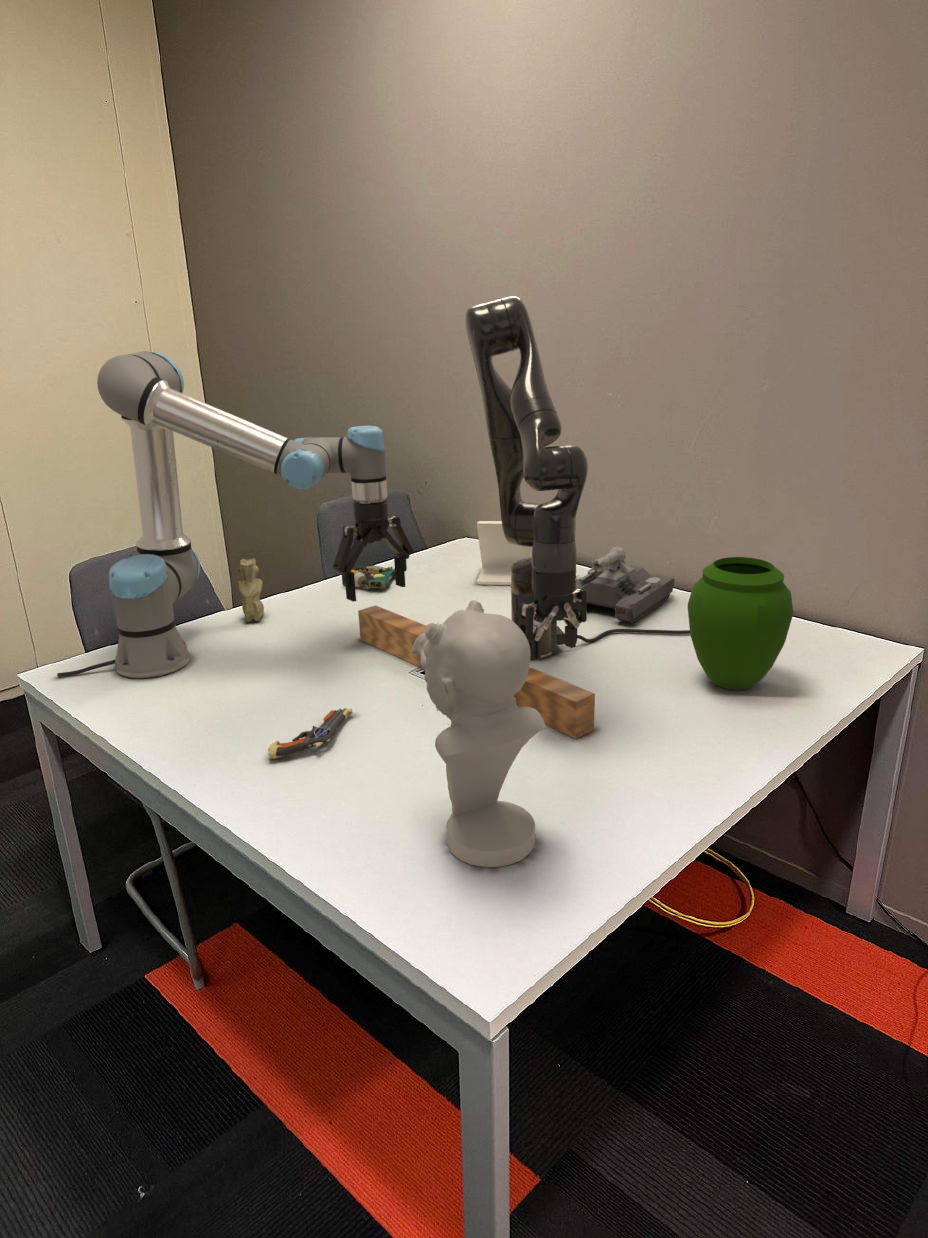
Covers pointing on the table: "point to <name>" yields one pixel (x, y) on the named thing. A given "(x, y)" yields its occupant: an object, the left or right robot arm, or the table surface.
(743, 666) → the vase
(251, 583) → the sculpture
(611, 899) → the table surface
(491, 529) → the tablet stand
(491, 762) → the bust sculpture
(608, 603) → the toy
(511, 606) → the right robot arm
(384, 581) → the spray gun
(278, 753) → the toy gun
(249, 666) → the table surface
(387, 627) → the beam
